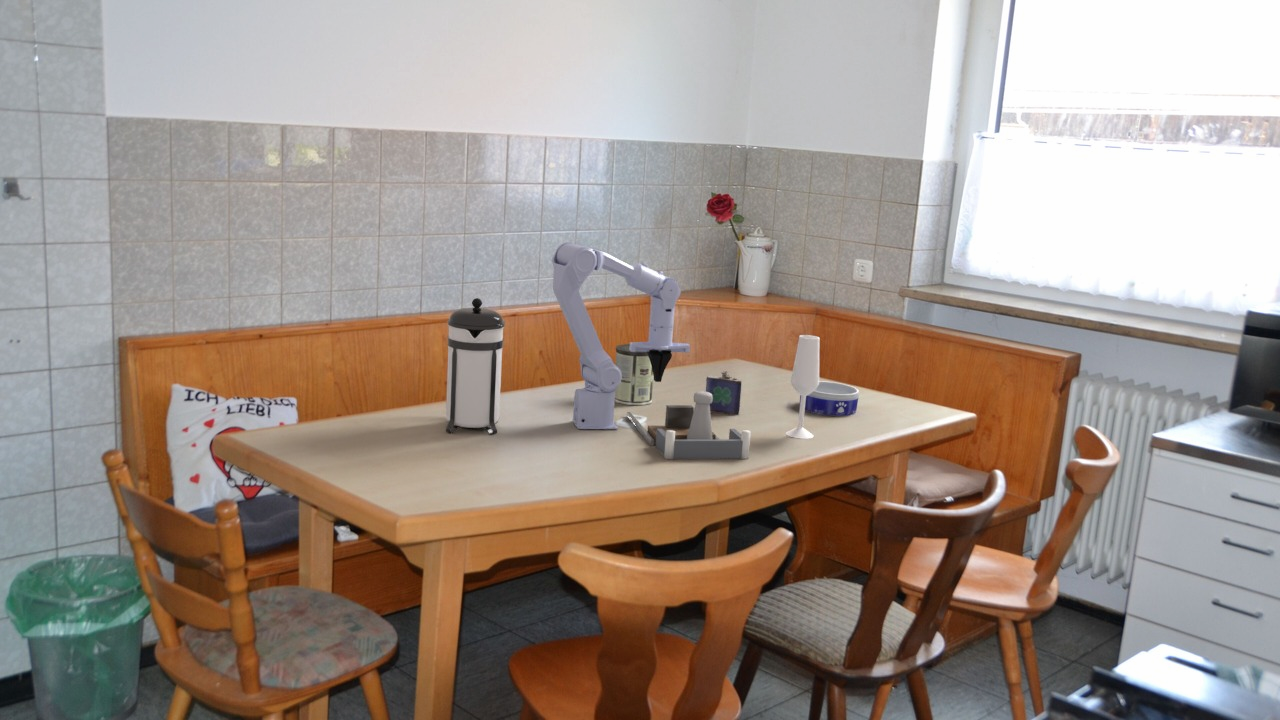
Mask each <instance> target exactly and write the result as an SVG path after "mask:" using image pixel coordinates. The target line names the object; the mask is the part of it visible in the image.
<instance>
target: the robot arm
mask: <svg viewBox="0 0 1280 720" xmlns="http://www.w3.org/2000/svg"><path fill="white" fill-rule="evenodd" d="M551 263H552V267H553V274H552V277H553V279H552V280H553V281H552V289H553V291H552V292H553V294H554V296H555V297H556V300H557V303H558V305H559V307H560V309H561V311H562V315H563V316H564V318H565V321H566V323H567V325H568V328H569V330H570V332H571V334H572V337H573V339H574V342H575V344H576V346H577V348H578V350H579V353H580V357H579V359H578V362H579V364H580V375H581V377H582V378H581V379H583V380H584V388H576V389H575V391H574V400H573V414H572V417H573V418H572V421H573V423H574V425H575V426H576V428H577V429H578V430H618V426H617V424H616V423H615V422H614V416H615V403H616V402H615V392H616V388H617V387H618V386H619V385H620V383H621V379H622V374H621V371H620V369H619V368H618V367H617V366H616V365H615V363H614V361H613V359H612V358H611V356H610V355H609V354H608V353H607V352H606V350H604V348H603V346H602V343H601V341H600V339H599V335H598V333H597V331H596V329H595V327H594V325H593V321H592V319H591V317H590V315H589V312H588V310H587V308H586V305H585V303H584V300H583V298H582V295H581V293H580V288H581V287H582V285H583V283H585V281H586V280H587V279H588V278H589V276H590V275H591V274H592V272H594V271H600V270H601V269H603V270H605V271H607V272H611V273H613V274H616V275H618V276H620V277H622V278H624V279H625V282H626V285H628V286H629V287H631V288H633V289H635V290H638V291H639V292H642V293H645V294H647V295H649V296H650V297H651V299H650V312H649V314H650V315H649V327H648V328H649V330H648V340H647V341H637V342H636V341H635V342H634V341H633V342H632V341H631V342H629V344H630V348H629V350H630V351H631V352H635V351H647V354H648V357H649V359H650V362H651V365H652V369H653V382H655V383H661V382H662V378H663V376H664V373H665V370H666V368H667V366H668V364H669V363H670V361H671V359H672V357H673V354H672V353H685V354H690V352H691V350H690V349H691V345H690V343H682V342H673V335H674V334H673V332H674V323H675V322H674V321H675V307H677V306H676V305H677V300H678V299H679V297H680V295H681V294H682V289H680V285H679V282H678V281H677V279H675V278H673V277H669V276H665V275H664V272H663V271H661V270H657V271H656V270H655V269H652V268H650V267H649V264H647V263H646V262H640V263H638V262H636V263H633V264H628V263H626V262H624V261H623V260H620V259H619V258H616V257H614V256H613V255H611V254H609V253H608V252H607V253H606V252H605V251H601V250H598V249H594V248H590V246H589V247H587V246H583V245H577V244H575V243H574V242H573V243H572V242H568V241H567V242H566V241H565V242H563V243H561V244H559V246H558V247H557V248H556V250H555V252H554V254H553V256H552V258H551Z"/></svg>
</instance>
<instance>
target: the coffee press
mask: <svg viewBox="0 0 1280 720" xmlns="http://www.w3.org/2000/svg"><path fill="white" fill-rule="evenodd" d="M482 304H483V301H482V300H481V298H479V297H478V298H477V297H476V298H474V299H473V300H472V302H471V305H472V306H473V307H465V308H459V309H456V310H454V311H453V312H452V313H451V314H450V315H449V318H448V319H447V321H446V323H447V326H448V335H447V340H446V341H447V343H446V344H447V347H448V348H447V375H446V407H445V408H446V410H445V414H446V415H445V417H446V420H447V422H448V424H447V425H446V427H445V432H446V433H448V434H451V433H452V434H454V433H455V432H456V430H457V429H458V428H460V427H461V428H470V429H472V428H473V429H476V428H477V429H479V428H483V429H485V430H486V432H487V433H488V435H490V436H493V435H496V434H498V429H497V427H496V424H497V423H498V422H499V419H500V406H501V389H502V388H501V385H502V365H503V364H502V361H503V360H502V359H503V348H504V343H505V342H504V337H503V336H504V328H505V326H506V322H505V321H504V318H503V316H502V314H500V313H499V312H498V311H495V310H493V309H491V308H489V309H488V308H483V307H482V306H483V305H482Z"/></svg>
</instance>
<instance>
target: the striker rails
mask: <svg viewBox="0 0 1280 720" xmlns="http://www.w3.org/2000/svg"><path fill="white" fill-rule="evenodd" d="M626 416H629V417H631V418H632V420H633V422H634V423H635V425H636V427H635V429H637V431H638V432H639V433H640V434H641V436H642V437H643V438H644V439H645V440H646V442H647V443H648V444H649V445H650V446H655V440H654V439H653V438H652V437H651V435H650V434H649V433H648V432H647V430H646V428H645V427H644V426H643V425H642V424H641V423H640V422H639V421H638V419H637V418H636V417H635V416H634V415H633V414H632V412H631V411H626ZM715 439H720V438H719V437H718V436H717V435H716V438H715Z"/></svg>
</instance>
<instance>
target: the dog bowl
mask: <svg viewBox="0 0 1280 720" xmlns="http://www.w3.org/2000/svg"><path fill="white" fill-rule="evenodd" d="M859 395H860V391H859V389H858V388H856V387H855V386H852V385H848V384H846V383H840V382H836V381H835V382H834V381H825V380H819V385H818V387H817V388H816V389H815V390H814V391H813V392H812V393H810V394H809V395H807V396H806V401H805V411H806V412H809V413H812V414H817V415H820V416H821V415H823V416H831V417H846V416H851V415H852V416H853V415H854V414H856V413H857V408H858V401H859ZM799 396H800V397H799V403H800V402H801V395H800V394H799Z"/></svg>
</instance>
